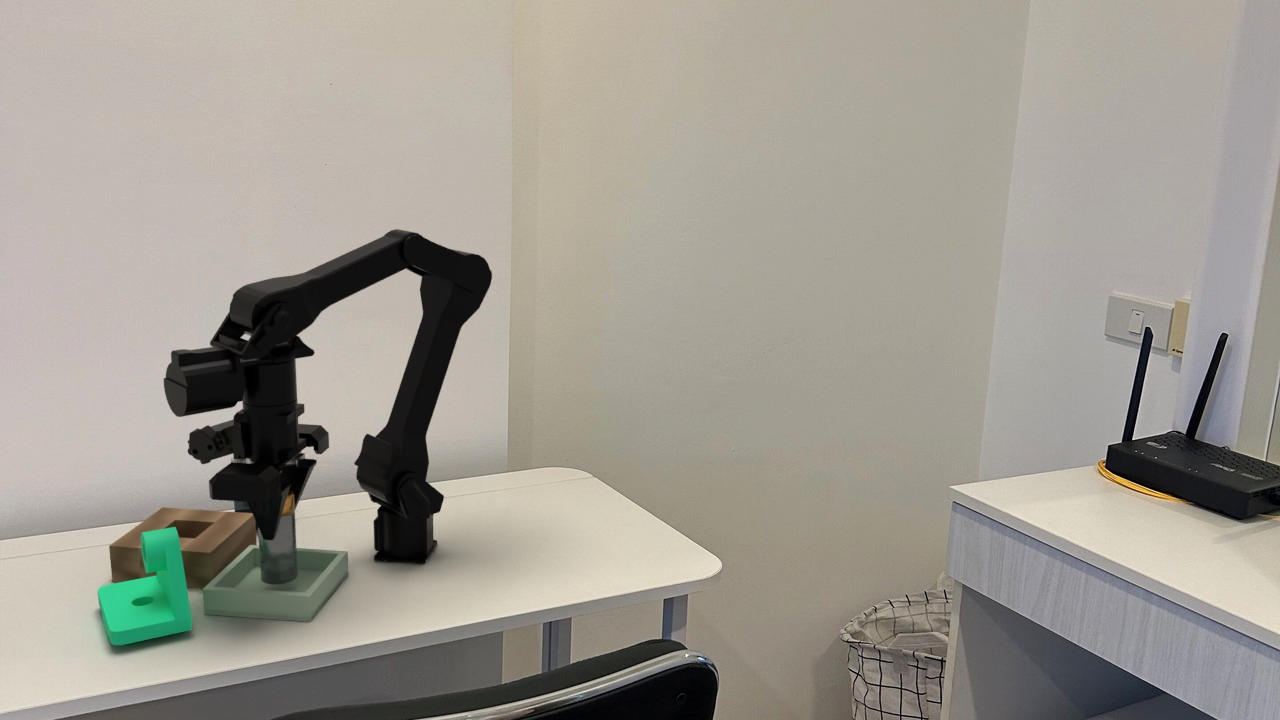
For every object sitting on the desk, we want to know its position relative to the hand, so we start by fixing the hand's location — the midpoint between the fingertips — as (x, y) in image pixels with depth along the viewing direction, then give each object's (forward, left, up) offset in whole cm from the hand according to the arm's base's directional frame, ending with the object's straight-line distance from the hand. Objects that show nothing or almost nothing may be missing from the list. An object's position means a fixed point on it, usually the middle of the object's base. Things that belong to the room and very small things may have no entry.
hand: (276, 531), depth 120 cm
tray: (0, 0, -8) cm, 8 cm away
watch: (+11, -19, -8) cm, 23 cm away
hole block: (+14, -6, -8) cm, 17 cm away
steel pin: (0, 0, -6) cm, 6 cm away
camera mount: (+12, +9, -8) cm, 16 cm away
